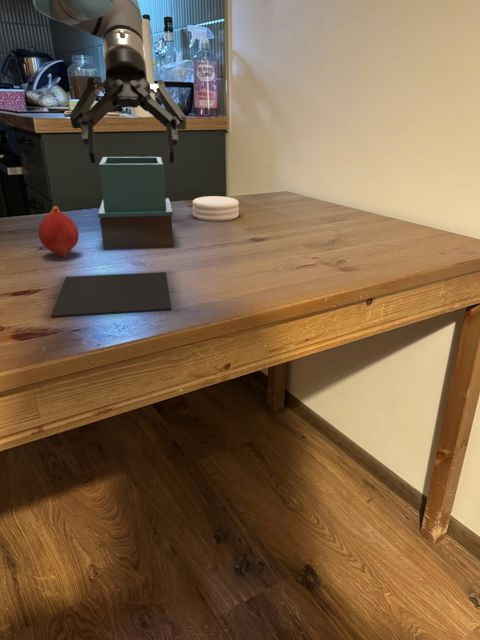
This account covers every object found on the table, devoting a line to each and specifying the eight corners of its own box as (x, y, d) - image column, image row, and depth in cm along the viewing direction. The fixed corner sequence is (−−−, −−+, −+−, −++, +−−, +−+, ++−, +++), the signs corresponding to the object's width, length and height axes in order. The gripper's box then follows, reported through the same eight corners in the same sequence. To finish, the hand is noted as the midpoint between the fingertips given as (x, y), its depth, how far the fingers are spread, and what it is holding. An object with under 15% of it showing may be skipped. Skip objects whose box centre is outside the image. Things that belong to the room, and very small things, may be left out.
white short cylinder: (246, 219, 107) (247, 202, 105) (203, 223, 102) (203, 206, 101) (226, 210, 114) (226, 194, 113) (186, 213, 110) (185, 197, 108)
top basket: (102, 202, 91) (97, 156, 88) (169, 201, 94) (166, 156, 90) (98, 217, 81) (91, 165, 77) (172, 215, 83) (169, 165, 80)
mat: (66, 279, 71) (65, 276, 70) (166, 274, 74) (165, 271, 73) (51, 318, 59) (50, 315, 58) (171, 311, 61) (171, 308, 61)
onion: (35, 259, 78) (25, 207, 75) (60, 250, 83) (51, 201, 80) (65, 264, 77) (56, 211, 73) (89, 254, 82) (81, 204, 78)
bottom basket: (107, 233, 94) (103, 202, 91) (169, 231, 96) (168, 201, 93) (103, 250, 84) (99, 217, 81) (173, 248, 86) (171, 215, 83)
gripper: (50, 43, 88) (52, 142, 82) (192, 49, 93) (204, 143, 87) (59, 78, 95) (62, 172, 89) (190, 81, 100) (202, 170, 94)
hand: (132, 158), depth 88 cm, fingers open, 13 cm apart
